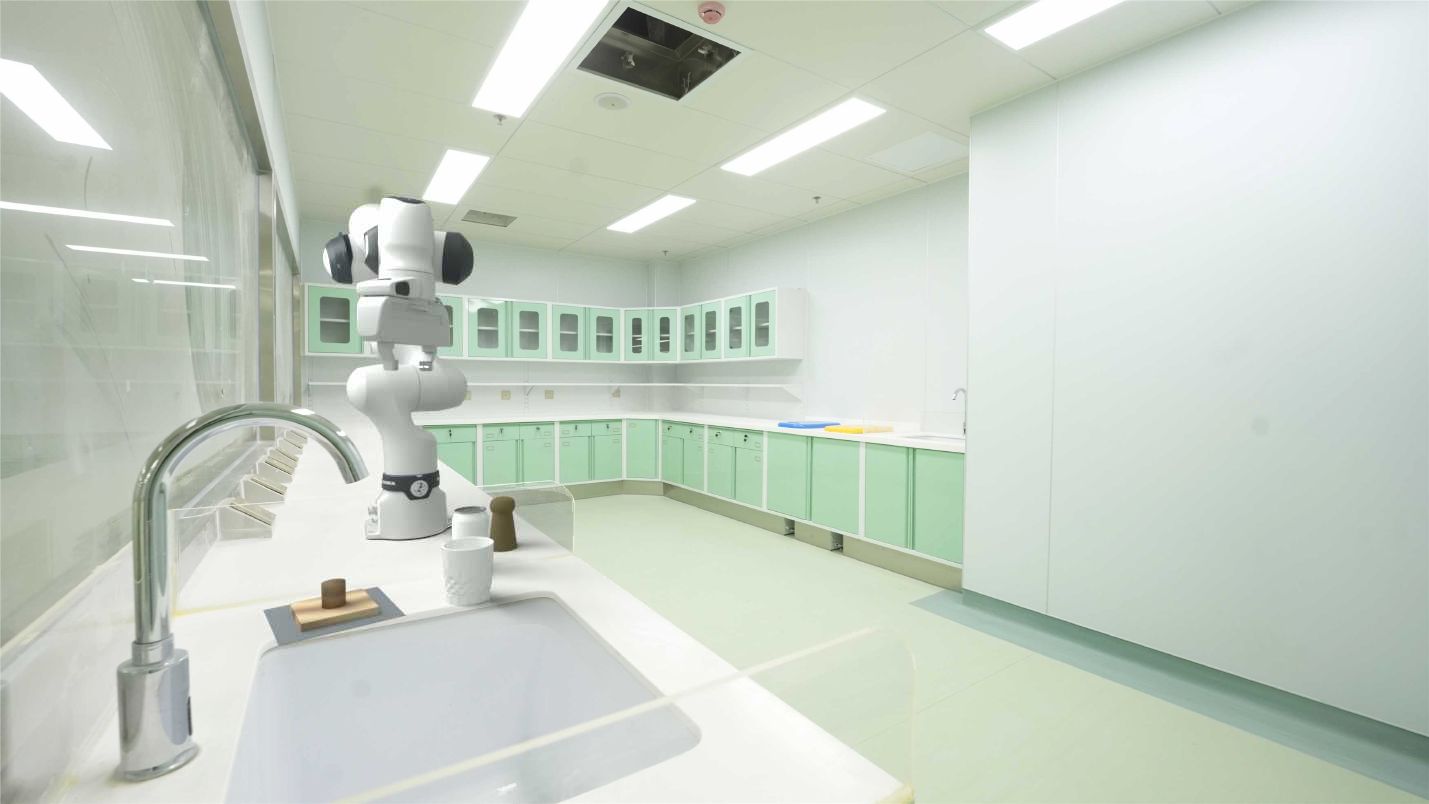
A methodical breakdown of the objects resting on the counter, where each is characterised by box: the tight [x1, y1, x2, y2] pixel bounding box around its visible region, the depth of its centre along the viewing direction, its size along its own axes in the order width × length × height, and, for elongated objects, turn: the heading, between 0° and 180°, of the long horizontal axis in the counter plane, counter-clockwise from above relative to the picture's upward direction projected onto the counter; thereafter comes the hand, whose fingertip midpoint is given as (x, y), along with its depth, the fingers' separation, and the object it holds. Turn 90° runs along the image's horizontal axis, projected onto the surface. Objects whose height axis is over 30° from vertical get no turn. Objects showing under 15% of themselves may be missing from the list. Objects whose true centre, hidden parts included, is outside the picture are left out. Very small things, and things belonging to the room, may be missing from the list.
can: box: [451, 505, 490, 540], centre depth 117 cm, size 6×6×12 cm
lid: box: [289, 578, 379, 632], centre depth 95 cm, size 10×10×5 cm
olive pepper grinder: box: [489, 495, 518, 553], centre depth 132 cm, size 6×6×11 cm
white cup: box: [442, 537, 494, 607], centre depth 102 cm, size 8×8×10 cm
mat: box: [263, 586, 406, 647], centre depth 95 cm, size 16×16×1 cm
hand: (409, 370), depth 108 cm, fingers open, 8 cm apart
